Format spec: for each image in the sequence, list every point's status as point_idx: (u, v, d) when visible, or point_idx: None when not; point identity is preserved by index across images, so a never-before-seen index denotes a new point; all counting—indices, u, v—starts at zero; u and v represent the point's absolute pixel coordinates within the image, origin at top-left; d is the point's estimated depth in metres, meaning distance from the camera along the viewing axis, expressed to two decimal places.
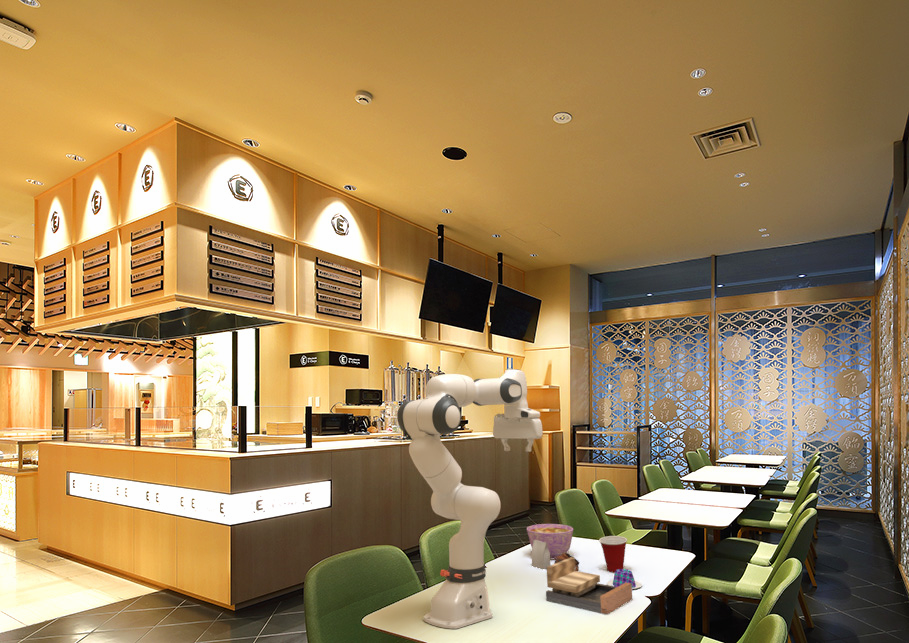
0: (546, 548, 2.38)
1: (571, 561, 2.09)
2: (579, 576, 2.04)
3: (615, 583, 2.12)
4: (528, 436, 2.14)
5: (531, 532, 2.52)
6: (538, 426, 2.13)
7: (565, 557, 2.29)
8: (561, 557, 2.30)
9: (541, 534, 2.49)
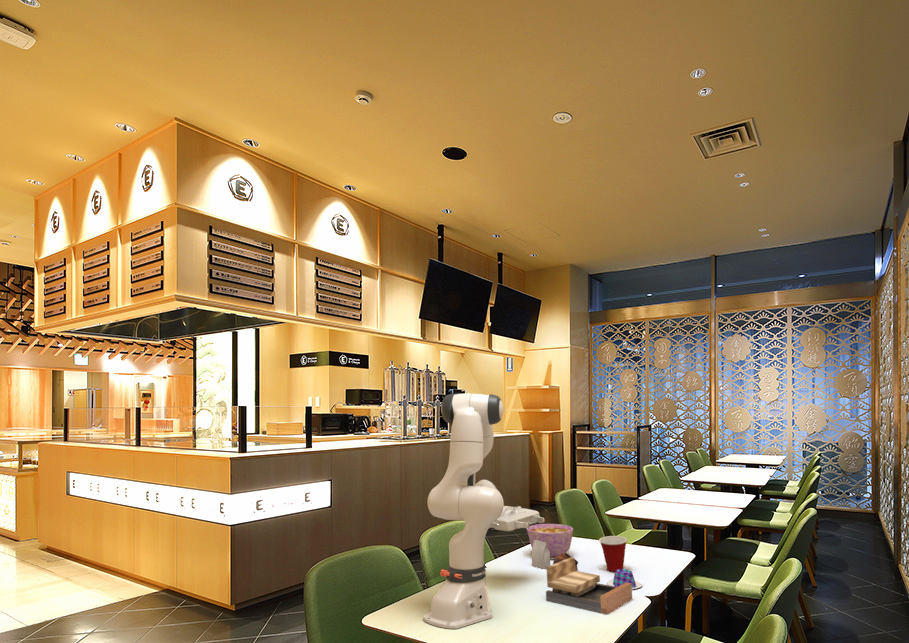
0: (546, 548, 2.38)
1: (571, 561, 2.09)
2: (579, 576, 2.04)
3: (615, 583, 2.12)
4: (532, 513, 2.22)
5: (531, 532, 2.52)
6: None
7: (564, 557, 2.30)
8: (560, 557, 2.31)
9: (541, 534, 2.49)
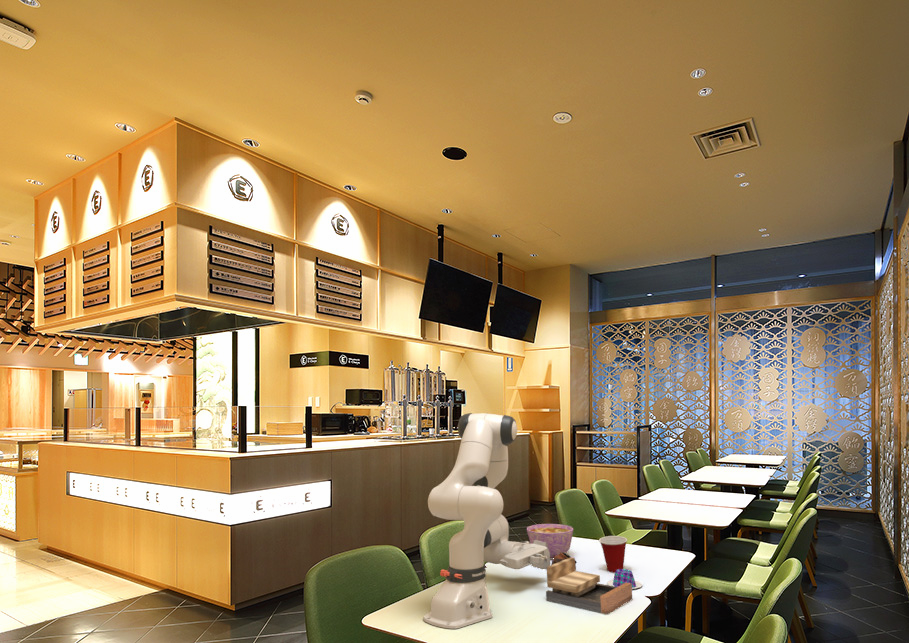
0: None
1: (571, 561, 2.09)
2: (579, 576, 2.04)
3: (615, 583, 2.11)
4: (541, 549, 2.19)
5: (531, 532, 2.52)
6: None
7: (562, 556, 2.30)
8: (558, 556, 2.31)
9: (541, 534, 2.49)
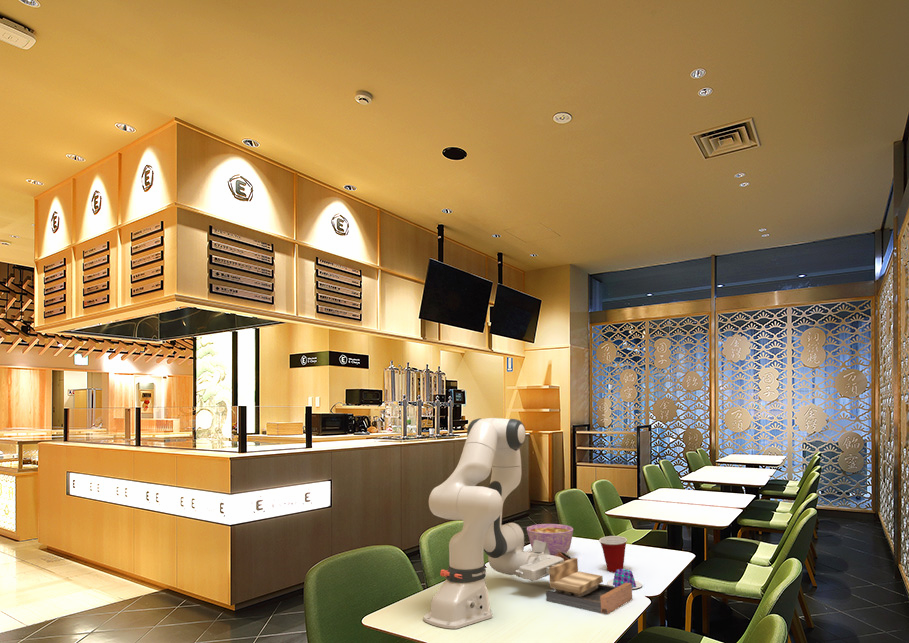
0: (546, 548, 2.38)
1: (574, 561, 2.09)
2: (582, 577, 2.03)
3: (616, 583, 2.11)
4: (557, 560, 2.14)
5: (531, 532, 2.52)
6: None
7: (561, 556, 2.31)
8: (557, 556, 2.32)
9: (541, 534, 2.49)
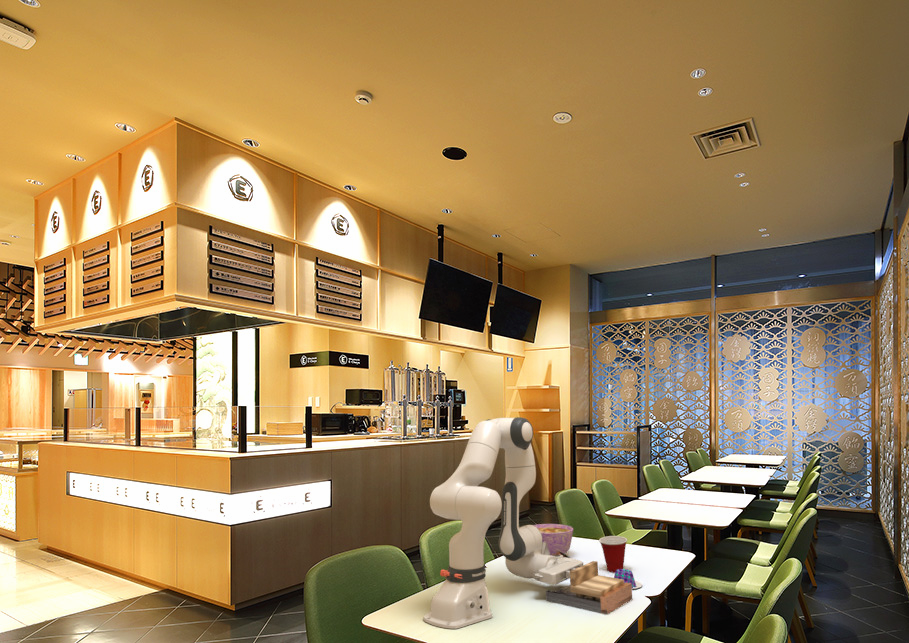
0: (546, 548, 2.38)
1: (594, 565, 2.04)
2: (603, 581, 1.98)
3: None
4: (576, 563, 2.09)
5: None
6: None
7: None
8: None
9: None
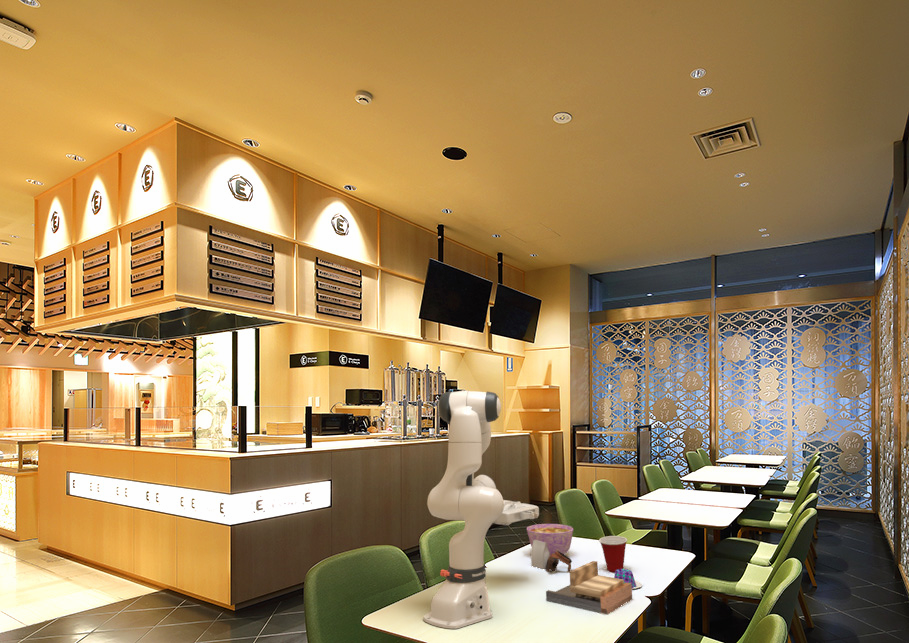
0: (546, 548, 2.38)
1: (594, 565, 2.04)
2: (602, 581, 1.98)
3: None
4: (532, 507, 2.22)
5: (531, 532, 2.52)
6: None
7: (558, 555, 2.32)
8: (554, 555, 2.33)
9: (541, 534, 2.49)
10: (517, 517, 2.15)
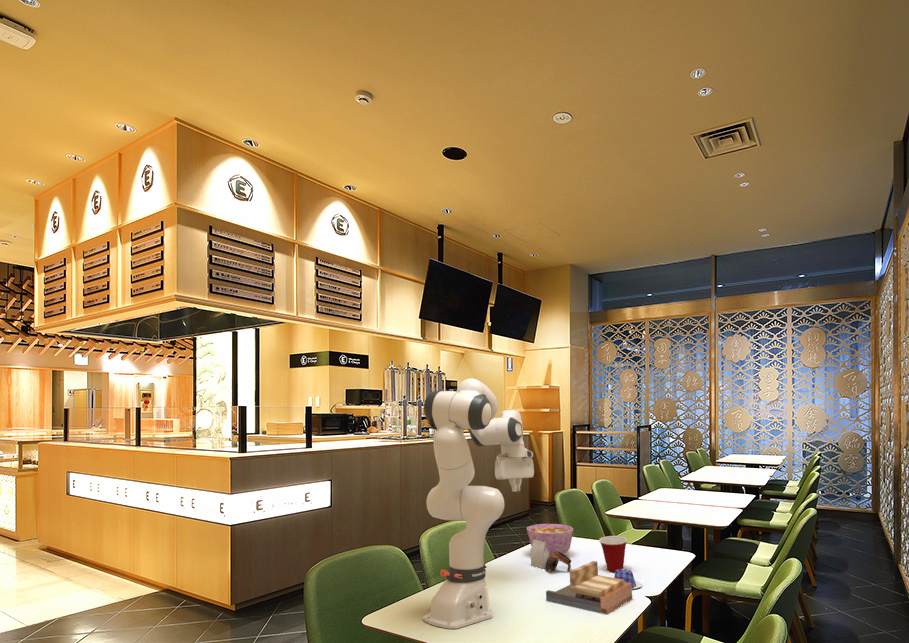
0: (545, 548, 2.38)
1: (594, 565, 2.04)
2: (602, 581, 1.98)
3: None
4: (528, 475, 2.26)
5: (531, 532, 2.52)
6: None
7: (558, 555, 2.32)
8: (554, 555, 2.33)
9: (541, 534, 2.49)
10: None
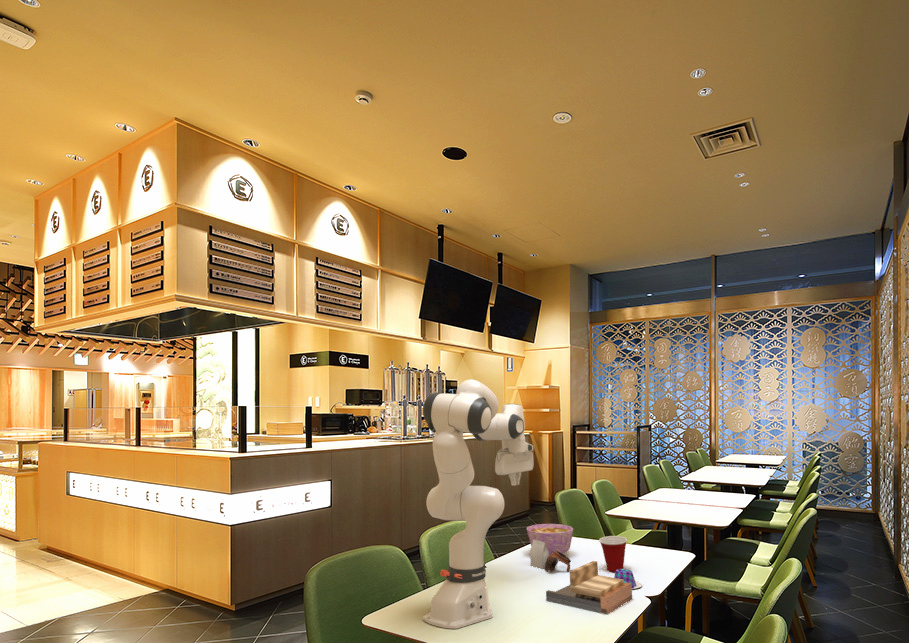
0: (545, 548, 2.39)
1: (594, 565, 2.04)
2: (602, 581, 1.98)
3: None
4: (528, 468, 2.26)
5: (531, 532, 2.52)
6: None
7: (557, 555, 2.32)
8: (553, 555, 2.33)
9: (541, 534, 2.49)
10: None
